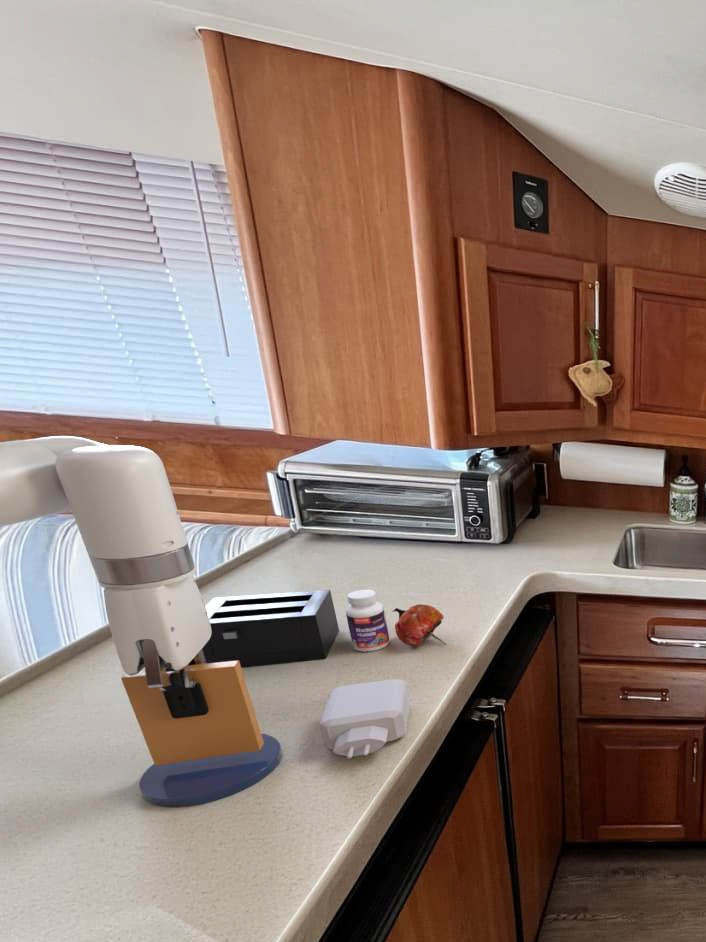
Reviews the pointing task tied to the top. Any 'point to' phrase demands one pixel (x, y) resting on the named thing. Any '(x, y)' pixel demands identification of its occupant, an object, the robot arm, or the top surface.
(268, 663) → the toaster
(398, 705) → the charger
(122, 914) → the top surface
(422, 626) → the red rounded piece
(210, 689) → the toast
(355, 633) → the pill bottle
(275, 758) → the plate
